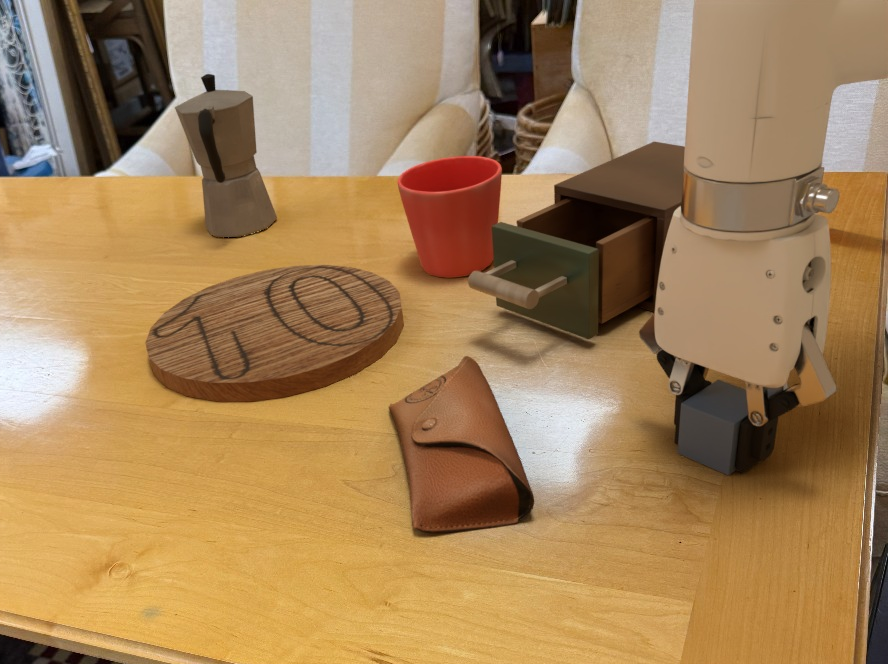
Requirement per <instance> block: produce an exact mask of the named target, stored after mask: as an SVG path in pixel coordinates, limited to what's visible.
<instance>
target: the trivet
mask: <svg viewBox="0 0 888 664" xmlns="http://www.w3.org/2000/svg"><path fill="white" fill-rule="evenodd" d="M404 326H405V323H404V316H403V308H402V299H401V293H400V292H399V290H398V289H397V288H396V287H395V285H394V284H393V283H392V282H391V281H390V280H389V279H387V278H384V277H382V276H380V275H379V274H376V273H375V272H372V271H369V270H365V269H361V268H357V267H352V266H343V265H331V264H306V265H305V264H304V265H291V266H284V267H276V268H270V269H264V270H259V271H256V272H252V273H247V274H243V275H238V276H235V277H232V278H229V279H227V280H224V281H221V282H218V283H215V284H212V285H210V286H207V287H205V288H203V289H201V290H198V291H197V292H195V293H193V294H191V295H189V296H187V297H185V298H183V299H182V300H180V301H179V302H177V303H176V304H175V305H174V306H172V307H170V308H169V309H167V310H166V311H165V312H163V314H162V315H161V316H160V317H159V318H158V319H157V320H156V321H155V322H154V323H153V325H152V326H151V327H150V328H149V332H148V334H147V337H146V339H145V343H144V344H145V347H146V352H147V356H148V359H149V363H150V367H151V369H152V372H153V375H154V377H156V378H157V380H159V381H160V382H161V383H162V384H163V385H164V386H165V388H167V389H170V390H172V391H174V392H177V393H179V394H181V395H184V396H186V397H189V398H194V399H199V400H200V399H201V400H205V401H213V402H238V403H239V402H241V403H242V402H243V403H244V402H246V403H247V402H249V403H251V402H258V401H266V400H273V399H280V398H281V399H282V398H286V397H287V398H288V397H291V396H296V395H299V394H304V393H307V392H311V391H315V390H318V389H321V388H325V387H328V386H330V385H333V384H334V383H337V382H340V381H342V380H344V379H347V378H349V377H351V376H354V375H356V374H358V373H360V372H361V371H362V370H364V369H365V368H367V367H368V366H371V365H372V364H373V363H375V362H377V361H378V360H379V359H381V358H383V356H384V355H385V354H386V353H387V352H388V351H389V350H390V349H391V348H392V347H393V346H394V345H395V344H396V343H397V342H398V340H399V339H400V335H401V334H402V333H401V332H402V331H403V328H404Z"/></svg>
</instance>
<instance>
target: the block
mask: <svg viewBox="0 0 888 664" xmlns="http://www.w3.org/2000/svg"><path fill="white" fill-rule="evenodd" d="M746 418H748V408H747V398H746V388H743V387H740V386H738V385H735V384H732V383H729V382H727V381H724V380H721V379H717V380H715V381H713V382H712V384H710V385H709V386H707V387H706V388H704V389H703V390H701V391H700V392H698V393H697V394H695V395H693V396H692V397H690V398H689V399H687V400H686V401H684V402H683V403H681V413H680V427H679V441H678V445H677V454H678V455H680V456H682V457H685V458H687V459H690V460H691V461H694V462H697V463H698V464H700V465H703V466H705V467H708V468H710V469H712V470H715V471H717V472H719V473H721V474H724V475H726V476H730V475H731V474H733V473H734V472H735V471H737V470H736V468H735V459H736V451H737V443H738V434H739V426H740V424H741V422H742V421H743V420H745V419H746Z"/></svg>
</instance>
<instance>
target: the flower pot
mask: <svg viewBox="0 0 888 664" xmlns="http://www.w3.org/2000/svg"><path fill="white" fill-rule="evenodd" d="M502 175H503V168H502V164H500V162H498V161H497V160H495V159H493V158H491V157H490V158H489V157H486V156H478V155H477V156H476V155H471V156H470V155H462V156H461V155H460V156H459V155H458V156H450V157H444V158H438V159H434V160H429V161H426V162H421V163H419V164H416V165H414V166H412V167H410V168H408V169H406V170H405V171H404V172H402V173H401V174H400V175H399V176H398V177H397V187H398V192H399V196H400V200H401V203H402V206H403V210H404V213H405V217H406V220H407V222H408V226H409V229H410V233H411V236H412V239H413V242H414V245H415V249H416V252H417V255H418V259H419V263H420V265H421V267H422V270H424V271H425V273H427V274H428V275H431V276H433V277H438V278H447V279H449V278H461V277H467V276H470V274H471V273H472V272H473V271H480V272H483V271H484V270H485V269H486V268H487V267H489V266H491V265H492V263H494V258H493V242H492V226H493V225H495V224H497V223H499V215H500V214H499V213H500V203H501V202H500V201H501V191H502V178H503V177H502Z"/></svg>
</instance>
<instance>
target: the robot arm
mask: <svg viewBox="0 0 888 664" xmlns="http://www.w3.org/2000/svg"><path fill="white" fill-rule="evenodd" d="M886 79H888V0H693V9H692V24H691V41H690V56H689V73H688V87H687V103H686V122H685V124H686V125H685V137H684V146H685V153H684V165H683V180H682V196H681V206H680V207H678V208H677V209H676V210H675V211H674V213H673V216H672V219H671V223H670V226H669V229H668V233H667V237H666V241H665V244H664V249H663V254H662V259H661V264H660V271H659V277H658V285H657V292H656V303H655V312H653V313H652V315H651V316H650V317H649V318H648V319H647V321H646V322H645V323H644V324H643V325H642V326H641V328H640V329H639V331H638V336H639V338H640V340H641V341H642V342H643V344H645V346H646V347H647V348H648V349H649V351H650V352H652V354H653V355H656V361H657V363H658V364H659V366H660V367H661V369H662V370H663V371H664V373H665V375H666V376H667V378H668V382H667V383H668V384H667V386H668V390H669V392H670V393H671V394H672V395H674V396H675V399H674V400H675V401H674V415H673V416H674V417H673V424H674V441H673V442H674V444H675V445H677V446H678V441H679V427H680V413H681V403H683V402H684V401H686V400H687V399H689V398H690V397H692V396H693V395H695V394H697V393H698V392H700V391H701V390H703V389H704V388H706V387H707V386H709V385H710V384H712V383H713V382H712V381H710V380H707V379H706V378H707V375H708V373H709V370H712V371H714V372H718V373H721V374H723V375H727V376H729V377H732V378H735V379H738V380H741V381H744V386H745V389H746V398H747V408H748V418H746V419H745V420H743V421H742V422H741V424H740V426H739V434H738V443H737V451H736V459H735V468H736V470H735V471H737V472H740V473H742V474H745V473H747V472H748V471H749V470H751V469H752V468H753V467H755V466H756V465H757V464H759V463H760V462H764V461H765V460H767V459H768V458H770V456H771V455H772V453H773V451H774V449H775V444H776V443H775V442H776V437H777V429H778V423H779V417H781V416H782V415H785V414H787V413H789V412H791V411H793V410H794V409H798V408H800V407H801V408H804V407H807V406H811V405H815V404H819V403H822V402H824V401H826V400H827V399H829V398H830V397H831V396H832V395H834V394H835V393H836V392H837V389H838V387H837V384H836V382H835V380H834V377H833V375H832V373H831V371H830V369H829V367H828V364H827V362H826V360H825V358H824V356H823V354H824V352H825V351H824V350H825V346H826V340H827V335H828V334H827V333H828V324H829V323H828V322H829V313H830V303H831V302H830V301H831V287H832V249H831V235H830V227H829V220H828V218H827V217H826V216H823V215H820V214H818V213H825V214H831V213H832V212H834V211H835V209H836V207H837V205H838V203H839V199H840V191H839V189H838V188H834V187H830V186H828V185H827V184H826V183H823V180H824V173H825V167H824V166H823V159H824V151H825V145H826V139H827V132H828V125H829V121H830V120H829V119H830V112H831V107H832V99H833V95H834V92H835V90H836V89H837V88H838V87H840V86H842V85H848V84H849V85H850V84H855V83H862V82H871V81H880V80H886ZM792 370H795V371H796V373H797V376H798V378H799V380H800V383H795V384H793V385H791V386H789V384H788V381H789V379H790V378H789V377H790V373H791V371H792Z"/></svg>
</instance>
